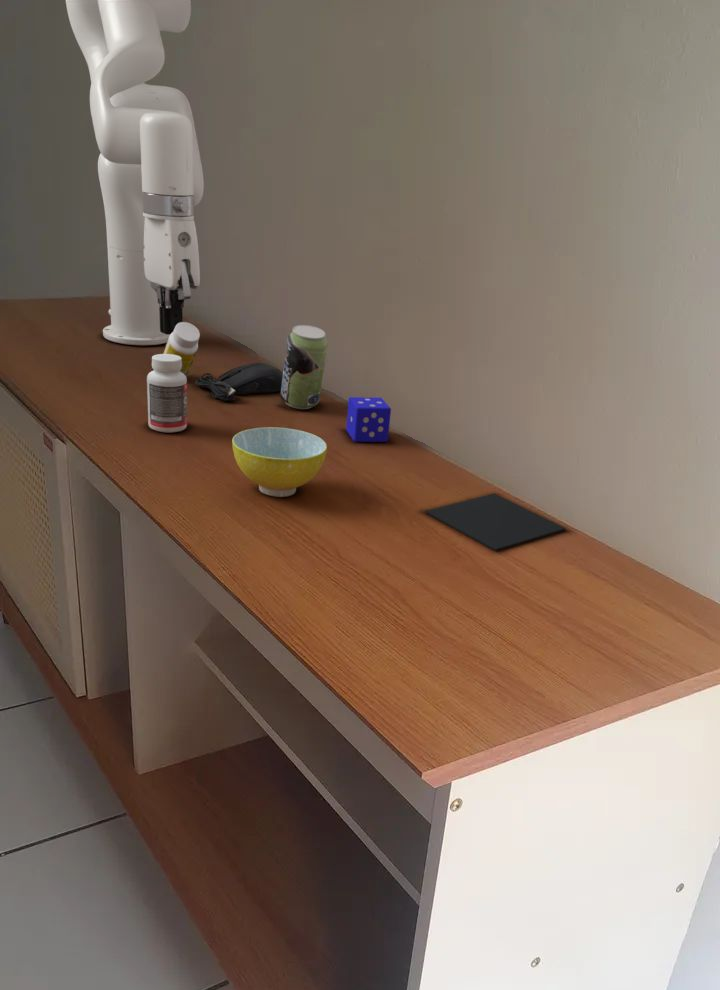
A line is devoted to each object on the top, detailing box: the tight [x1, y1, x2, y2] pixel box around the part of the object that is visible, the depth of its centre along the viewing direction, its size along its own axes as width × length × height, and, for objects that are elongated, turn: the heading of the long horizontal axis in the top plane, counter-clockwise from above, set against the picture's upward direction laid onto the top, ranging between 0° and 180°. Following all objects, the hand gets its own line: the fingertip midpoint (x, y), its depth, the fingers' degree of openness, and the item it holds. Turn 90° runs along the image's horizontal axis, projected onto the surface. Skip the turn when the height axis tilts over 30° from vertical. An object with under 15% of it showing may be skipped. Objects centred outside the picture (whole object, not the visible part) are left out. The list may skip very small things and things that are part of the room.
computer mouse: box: [194, 362, 283, 402], centre depth 149 cm, size 10×15×4 cm
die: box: [345, 396, 392, 443], centre depth 135 cm, size 5×5×5 cm
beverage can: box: [279, 324, 329, 410], centre depth 142 cm, size 6×7×12 cm
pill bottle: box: [146, 353, 188, 434], centre depth 129 cm, size 5×5×10 cm
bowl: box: [231, 426, 328, 498], centre depth 114 cm, size 11×12×6 cm
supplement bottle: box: [162, 321, 201, 377], centre depth 149 cm, size 5×5×8 cm
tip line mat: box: [424, 493, 566, 552], centre depth 113 cm, size 12×12×1 cm
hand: (171, 332), depth 150 cm, fingers closed
